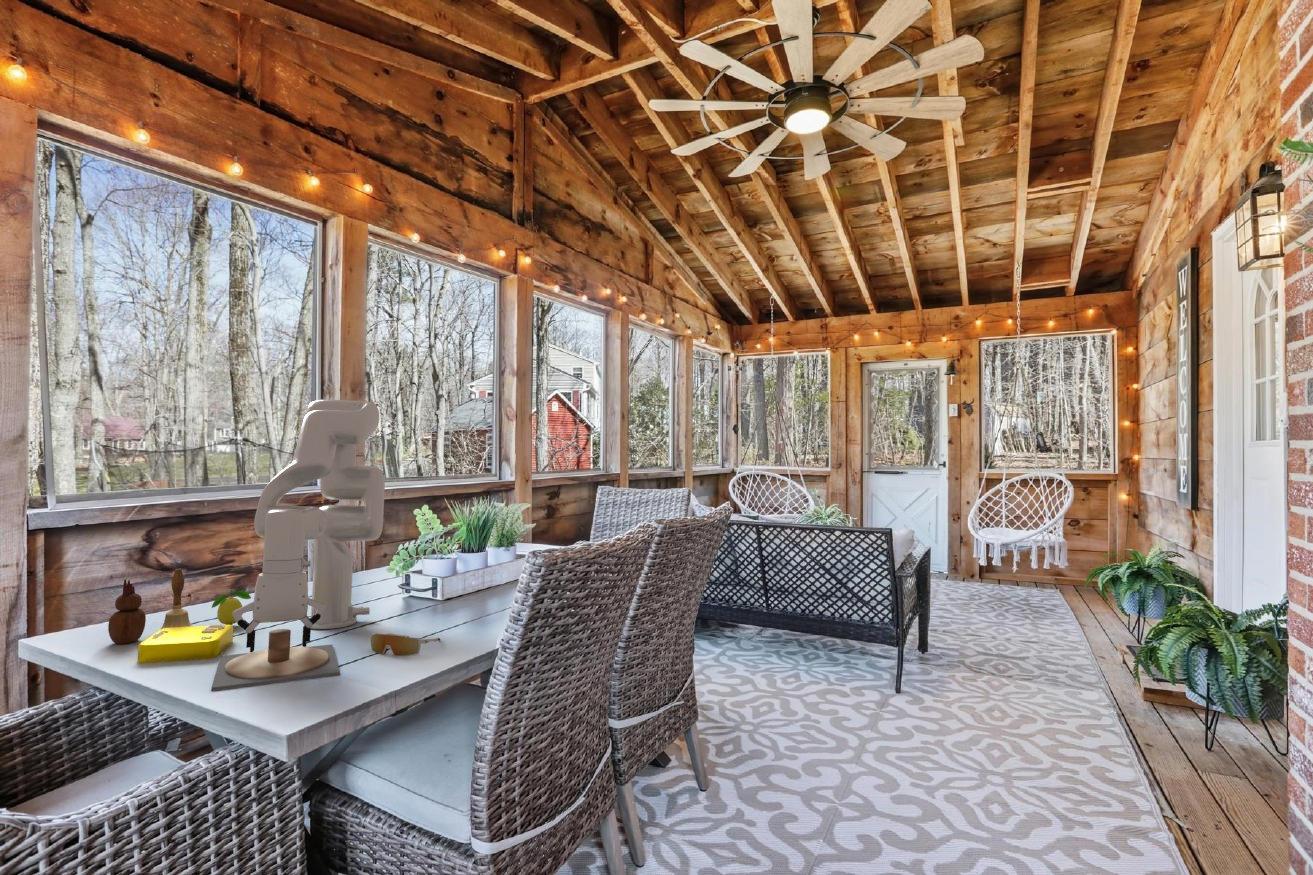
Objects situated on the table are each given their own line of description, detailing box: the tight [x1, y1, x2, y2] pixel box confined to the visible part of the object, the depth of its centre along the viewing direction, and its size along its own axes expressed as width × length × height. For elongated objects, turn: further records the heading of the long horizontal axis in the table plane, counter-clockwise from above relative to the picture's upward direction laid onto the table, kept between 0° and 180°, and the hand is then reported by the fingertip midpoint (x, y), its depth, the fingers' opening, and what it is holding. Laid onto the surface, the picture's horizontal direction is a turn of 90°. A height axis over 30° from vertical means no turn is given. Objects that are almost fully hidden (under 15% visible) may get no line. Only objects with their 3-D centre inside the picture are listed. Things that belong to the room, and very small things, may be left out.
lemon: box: [211, 587, 252, 626], centre depth 169 cm, size 7×6×10 cm
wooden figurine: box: [107, 578, 147, 645], centre depth 153 cm, size 7×6×15 cm
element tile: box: [137, 624, 234, 664], centre depth 147 cm, size 15×15×5 cm
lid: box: [225, 628, 328, 679], centre depth 139 cm, size 19×19×7 cm
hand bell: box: [159, 568, 193, 630], centre depth 161 cm, size 8×8×16 cm
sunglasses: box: [370, 632, 441, 657], centre depth 156 cm, size 14×15×5 cm
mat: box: [210, 643, 341, 692], centre depth 139 cm, size 22×22×1 cm
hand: (278, 647), depth 139 cm, fingers open, 9 cm apart
